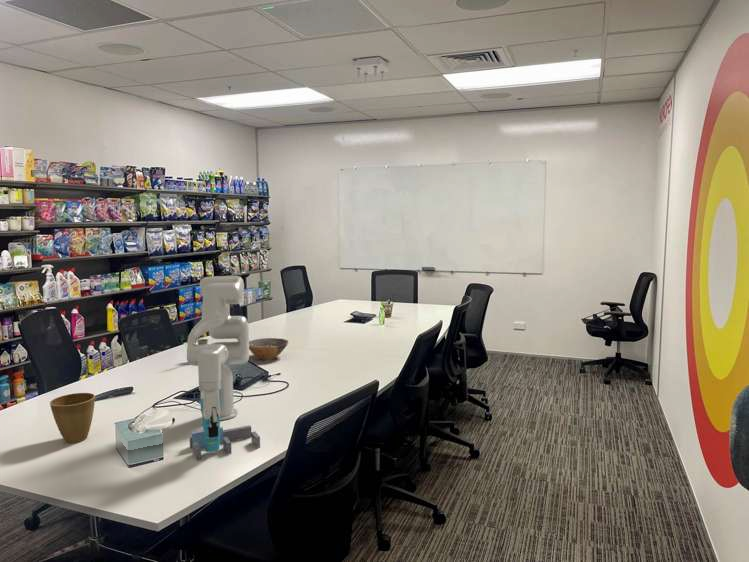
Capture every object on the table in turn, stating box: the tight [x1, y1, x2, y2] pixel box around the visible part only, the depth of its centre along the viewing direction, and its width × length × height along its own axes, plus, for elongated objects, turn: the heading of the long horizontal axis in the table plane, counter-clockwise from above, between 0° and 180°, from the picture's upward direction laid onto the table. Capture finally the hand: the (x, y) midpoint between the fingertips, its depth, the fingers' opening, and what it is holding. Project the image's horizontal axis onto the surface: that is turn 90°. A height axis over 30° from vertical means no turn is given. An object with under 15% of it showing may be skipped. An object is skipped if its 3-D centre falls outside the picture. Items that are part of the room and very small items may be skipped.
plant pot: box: [49, 392, 96, 444], centre depth 206 cm, size 15×15×16 cm
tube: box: [199, 397, 222, 453], centre depth 193 cm, size 7×5×19 cm, turn 113°
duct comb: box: [188, 424, 261, 461], centre depth 199 cm, size 13×22×6 cm, turn 119°
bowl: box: [249, 337, 289, 361], centre depth 327 cm, size 25×25×10 cm
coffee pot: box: [185, 338, 209, 345], centre depth 314 cm, size 21×12×15 cm, turn 164°
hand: (211, 433), depth 193 cm, fingers closed on tube, 4 cm apart
